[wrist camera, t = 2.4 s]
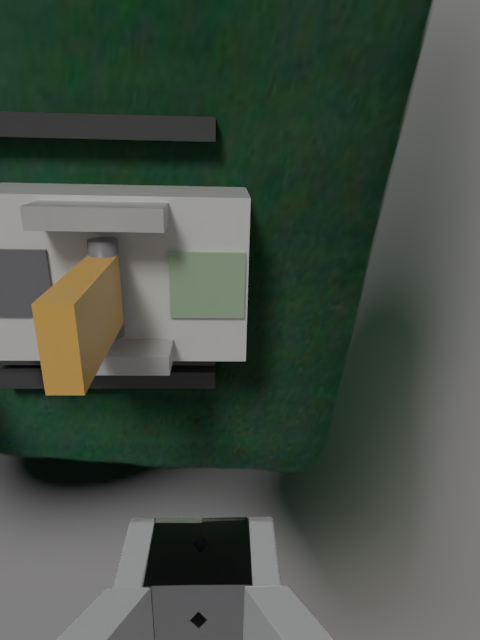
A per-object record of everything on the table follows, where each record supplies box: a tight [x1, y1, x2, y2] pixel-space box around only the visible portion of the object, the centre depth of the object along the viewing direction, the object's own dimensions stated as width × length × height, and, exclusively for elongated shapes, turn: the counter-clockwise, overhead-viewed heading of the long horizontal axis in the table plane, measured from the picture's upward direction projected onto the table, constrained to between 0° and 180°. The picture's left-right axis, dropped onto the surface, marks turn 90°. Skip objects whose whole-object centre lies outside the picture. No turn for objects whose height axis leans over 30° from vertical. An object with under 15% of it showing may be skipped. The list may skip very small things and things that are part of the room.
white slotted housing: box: [0, 183, 251, 376], centre depth 28 cm, size 16×10×8 cm, turn 89°
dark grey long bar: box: [0, 112, 216, 142], centre depth 28 cm, size 16×1×1 cm, turn 89°
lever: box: [31, 237, 125, 395], centre depth 22 cm, size 2×6×9 cm, turn 179°
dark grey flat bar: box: [0, 361, 215, 389], centre depth 34 cm, size 16×3×1 cm, turn 89°
